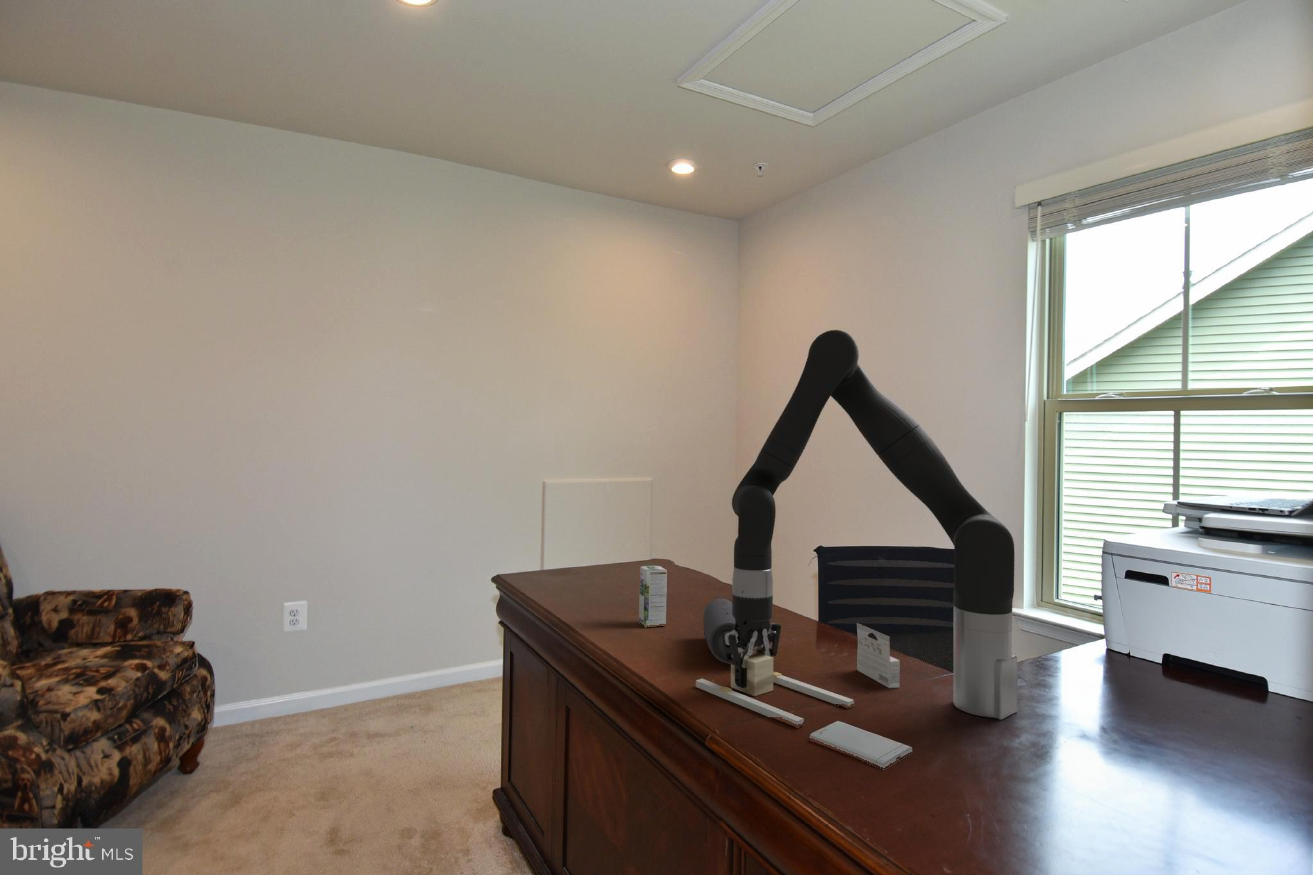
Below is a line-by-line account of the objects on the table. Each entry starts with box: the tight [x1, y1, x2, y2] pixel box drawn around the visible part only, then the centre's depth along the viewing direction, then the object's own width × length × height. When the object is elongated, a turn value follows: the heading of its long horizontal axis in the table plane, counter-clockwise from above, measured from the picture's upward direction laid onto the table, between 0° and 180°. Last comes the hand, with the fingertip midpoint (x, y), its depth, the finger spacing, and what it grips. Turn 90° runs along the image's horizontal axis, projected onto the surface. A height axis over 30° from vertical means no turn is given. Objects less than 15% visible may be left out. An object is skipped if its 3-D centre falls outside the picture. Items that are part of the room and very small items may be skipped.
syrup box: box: [638, 565, 668, 626], centre depth 171 cm, size 6×6×14 cm
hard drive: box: [809, 720, 913, 768], centre depth 102 cm, size 2×8×12 cm
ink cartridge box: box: [856, 622, 901, 689], centre depth 132 cm, size 2×11×10 cm, turn 16°
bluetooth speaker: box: [702, 598, 746, 664], centre depth 148 cm, size 23×9×10 cm, turn 179°
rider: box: [730, 651, 774, 697], centre depth 126 cm, size 6×5×6 cm
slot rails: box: [695, 671, 855, 725], centre depth 122 cm, size 24×15×1 cm, turn 39°
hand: (751, 683), depth 126 cm, fingers closed on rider, 5 cm apart
